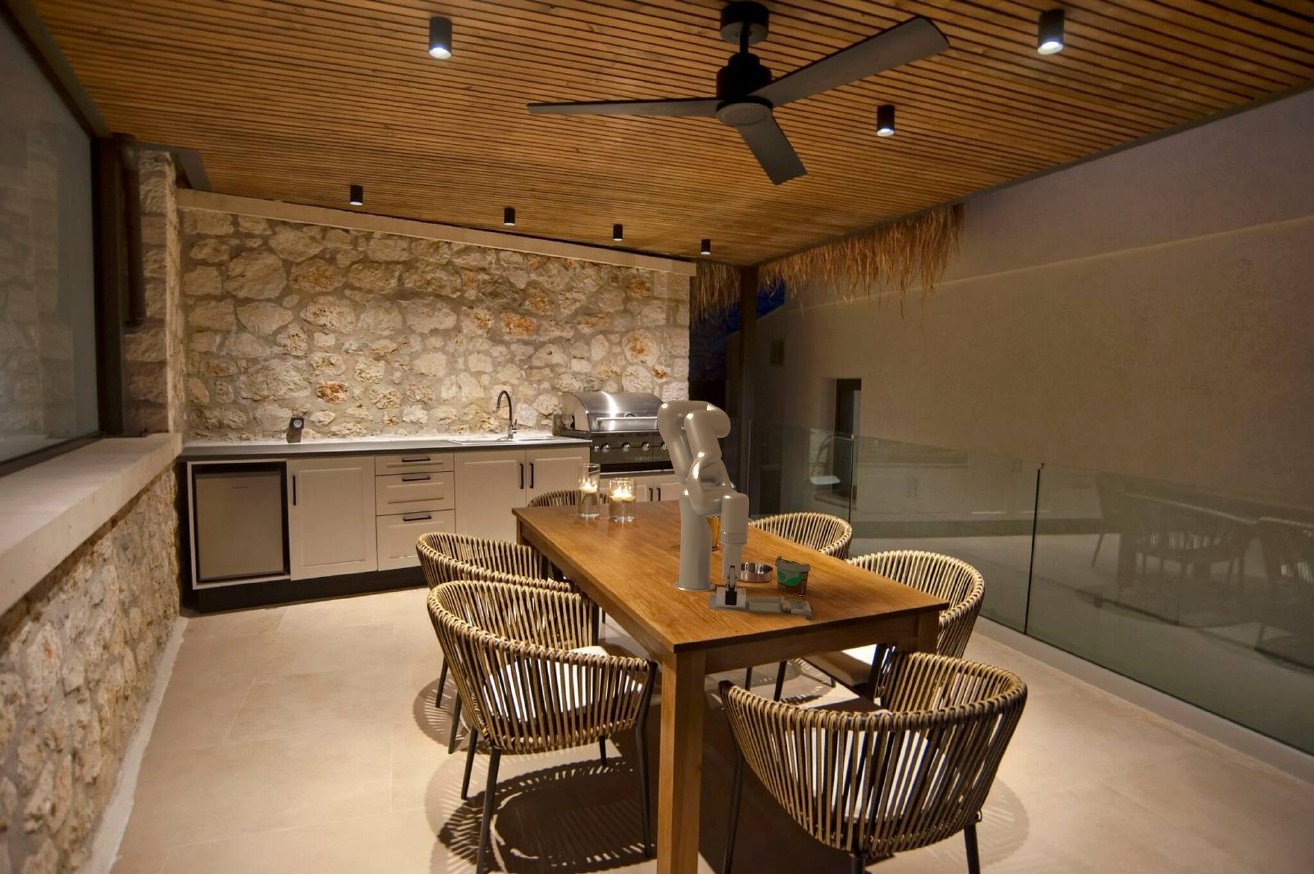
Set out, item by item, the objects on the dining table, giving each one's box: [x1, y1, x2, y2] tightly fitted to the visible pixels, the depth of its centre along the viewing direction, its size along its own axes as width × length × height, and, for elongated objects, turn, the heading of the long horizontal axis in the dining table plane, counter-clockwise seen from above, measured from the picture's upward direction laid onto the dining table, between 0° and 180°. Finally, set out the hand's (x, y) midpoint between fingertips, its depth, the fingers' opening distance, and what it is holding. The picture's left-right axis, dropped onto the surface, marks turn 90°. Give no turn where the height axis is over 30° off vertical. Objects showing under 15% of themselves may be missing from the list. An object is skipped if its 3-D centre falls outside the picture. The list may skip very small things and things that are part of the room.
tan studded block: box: [715, 586, 747, 609], centre depth 197 cm, size 6×8×4 cm
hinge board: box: [707, 593, 813, 621], centre depth 198 cm, size 14×28×1 cm, turn 84°
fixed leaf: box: [780, 595, 812, 615], centre depth 195 cm, size 10×8×2 cm
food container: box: [774, 555, 811, 597], centre depth 214 cm, size 12×6×10 cm, turn 37°
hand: (730, 600), depth 197 cm, fingers closed on tan studded block, 6 cm apart
